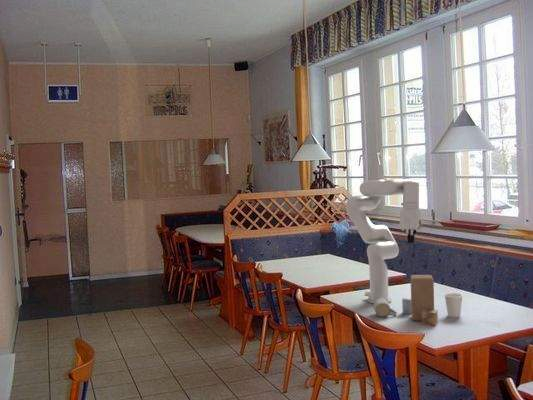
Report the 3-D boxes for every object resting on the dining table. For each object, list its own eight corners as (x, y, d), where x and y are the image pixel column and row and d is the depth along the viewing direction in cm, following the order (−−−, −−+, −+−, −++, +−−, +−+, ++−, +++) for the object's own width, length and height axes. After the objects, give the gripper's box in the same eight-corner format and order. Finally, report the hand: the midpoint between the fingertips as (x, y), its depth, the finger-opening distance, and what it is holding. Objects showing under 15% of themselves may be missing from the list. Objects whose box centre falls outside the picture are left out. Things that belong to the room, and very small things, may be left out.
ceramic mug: (375, 317, 286) (375, 302, 286) (373, 313, 294) (373, 298, 294) (398, 317, 286) (397, 301, 285) (395, 313, 294) (394, 297, 293)
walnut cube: (421, 325, 271) (421, 312, 270) (424, 321, 276) (423, 309, 276) (435, 326, 268) (435, 313, 268) (437, 322, 274) (437, 309, 273)
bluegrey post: (400, 313, 293) (400, 299, 292) (406, 311, 296) (405, 297, 296) (409, 315, 289) (409, 300, 289) (415, 312, 293) (414, 298, 292)
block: (434, 321, 275) (433, 278, 274) (412, 321, 277) (411, 278, 276) (433, 316, 285) (432, 274, 284) (411, 315, 287) (410, 274, 286)
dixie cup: (441, 315, 287) (440, 294, 286) (455, 312, 290) (454, 292, 289) (453, 319, 279) (452, 297, 278) (467, 316, 282) (466, 295, 282)
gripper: (393, 205, 296) (393, 242, 298) (420, 207, 285) (420, 245, 287) (402, 204, 301) (402, 240, 303) (428, 205, 291) (428, 243, 292)
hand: (410, 242), depth 295 cm, fingers closed
